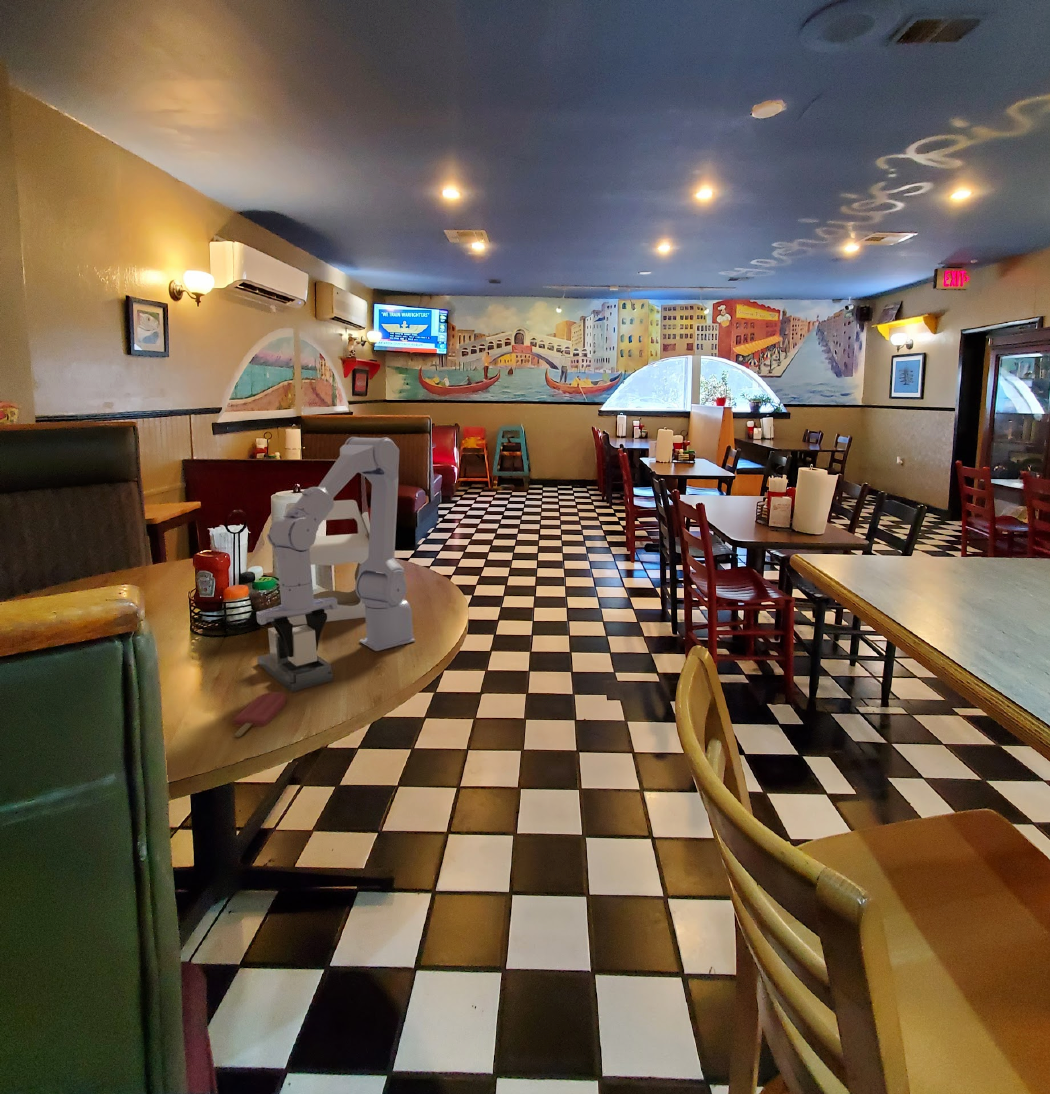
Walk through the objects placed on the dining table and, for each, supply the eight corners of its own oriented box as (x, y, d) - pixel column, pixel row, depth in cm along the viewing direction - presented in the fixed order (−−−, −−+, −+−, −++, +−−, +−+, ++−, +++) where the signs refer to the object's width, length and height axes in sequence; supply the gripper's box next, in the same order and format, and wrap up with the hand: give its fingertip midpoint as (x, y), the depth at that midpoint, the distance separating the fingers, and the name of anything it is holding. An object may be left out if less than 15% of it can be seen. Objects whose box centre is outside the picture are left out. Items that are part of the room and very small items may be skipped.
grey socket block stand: (296, 654, 142) (293, 619, 141) (333, 680, 129) (330, 642, 127) (257, 663, 137) (254, 628, 136) (291, 692, 124) (287, 653, 122)
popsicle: (219, 731, 107) (261, 691, 122) (220, 740, 107) (262, 699, 122) (252, 732, 107) (291, 691, 121) (253, 741, 107) (291, 699, 122)
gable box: (372, 601, 179) (365, 495, 173) (379, 616, 167) (372, 502, 161) (282, 611, 172) (272, 500, 166) (282, 627, 160) (271, 508, 154)
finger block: (317, 660, 128) (314, 630, 127) (296, 666, 126) (293, 635, 124) (308, 654, 131) (305, 624, 130) (287, 659, 129) (284, 629, 128)
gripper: (324, 571, 133) (329, 638, 136) (248, 585, 124) (255, 655, 127) (340, 578, 127) (345, 647, 130) (261, 593, 119) (268, 666, 121)
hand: (301, 652), depth 128 cm, fingers closed on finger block, 4 cm apart
